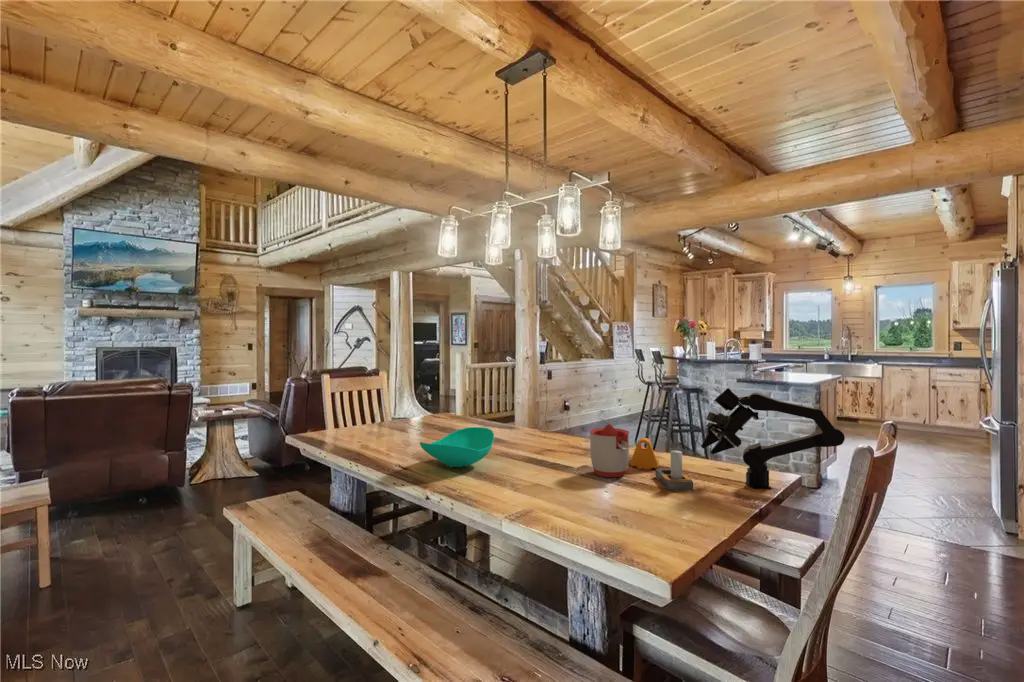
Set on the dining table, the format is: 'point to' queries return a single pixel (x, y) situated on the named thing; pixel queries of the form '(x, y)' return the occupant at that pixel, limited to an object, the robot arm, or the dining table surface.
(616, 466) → the citrus juicer
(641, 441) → the bracket
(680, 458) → the peg
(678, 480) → the grey boxy holed piece
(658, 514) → the dining table surface
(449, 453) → the table top decor
